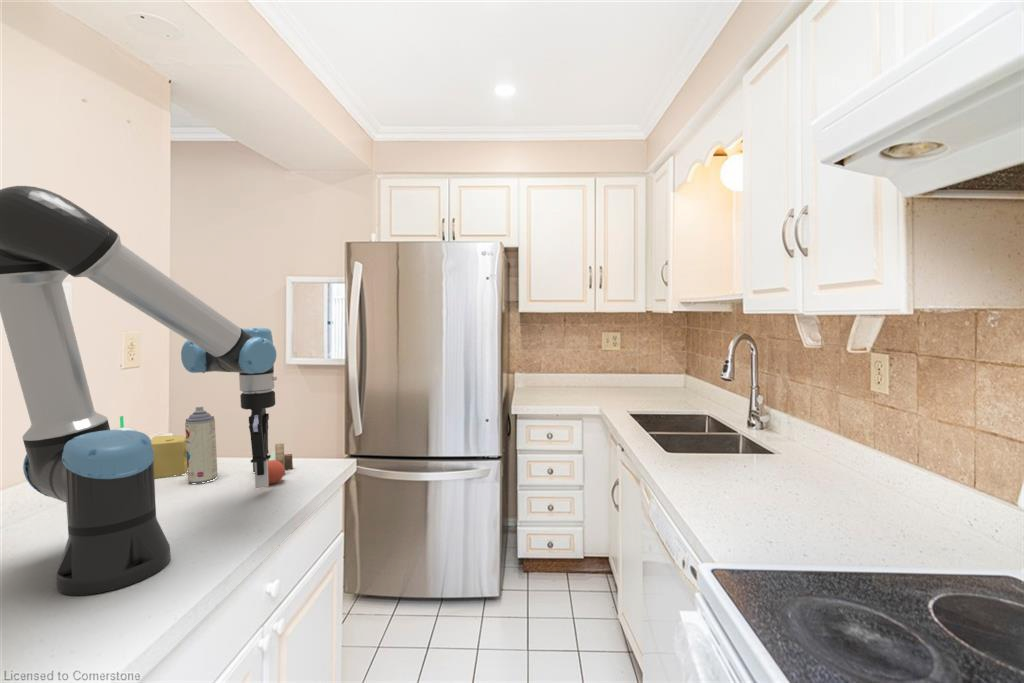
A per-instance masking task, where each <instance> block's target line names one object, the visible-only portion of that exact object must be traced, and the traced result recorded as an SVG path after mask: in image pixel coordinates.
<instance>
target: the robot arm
mask: <svg viewBox="0 0 1024 683" xmlns="http://www.w3.org/2000/svg"><path fill="white" fill-rule="evenodd" d="M68 276H71V277H73V278H87V279H88V280H90V281H92V282H94V283H95V284H97V285H98V286H100V287H102V288H103V289H105V290H106V291H107V292H110V293H111V294H113V295H115V296H116V297H118V299H121V300H123V301H124V302H126V303H127V304H129V305H131V306H132V307H134V308H135V309H137V310H138V311H140V312H141V313H144V314H145V315H147V316H148V317H149V318H151V319H154V320H155V321H156V322H158V323H159V324H161V325H163V326H164V327H166V328H168V329H169V330H171V331H172V332H174V333H176V334H178V336H181V337H182V338H184V339H185V340H186V341H185V342H184V343H183V345H182V347H181V351H180V359H181V364H182V366H183V368H185V370H186V371H187V372H189V373H192V374H193V373H194V374H195V373H196V374H197V373H200V374H201V373H202V374H205V373H208V372H209V373H210V372H211V373H212V372H218V373H219V372H222V373H238V374H239V375H238V377H239V378H238V380H239V382H238V383H239V391H240V392H242V393H241V394H240V395H239V396H240V408H241V409H243V410H251V412H250V413H251V414H250V416H248V424H249V425H248V428H249V435H250V443H251V444H250V445H251V453H252V455H251V456H252V459H250V463H252V464H253V462H254V466H255V474H254V484H255V485H254V486H255V489H263V488H268V487H269V485H270V484H269V481H268V460H267V458H271V455H269V454H270V451H269V419H270V414H269V412H268V413H267V409H268V408H272V407H274V406H275V405H276V392H275V391H274V388H275V381H277V380H278V377H277V376H274V375H275V373H274V371H275V369H274V368H275V363H276V360H277V349H276V346H275V345H274V341H273V334H272V331H271V329H270V328H267V327H249V328H248V327H247V328H246V327H245V328H241V327H239V326H238V325H237V324H235V323H234V322H232V321H230V320H229V319H228V318H227V317H225V316H223V314H221V313H219V312H218V311H217V310H215V309H214V308H212V307H211V306H209V305H208V304H207V303H205V302H204V301H203V300H201V299H200V298H198V297H197V296H195V295H194V294H193V293H191V292H190V291H188V290H187V289H186V288H184V287H183V286H181V285H180V284H179V283H177V282H176V281H175V280H173V279H171V277H168V275H166V274H165V273H163V272H162V271H160V270H159V269H158V268H156V267H154V265H152V264H150V263H149V262H148V261H146V260H145V259H143V258H142V257H141V256H139V255H138V254H137V253H135V252H134V251H132V250H130V249H129V248H128V247H126V246H125V245H123V244H122V242H121V237H120V234H119V233H117V232H116V231H115V230H113V229H112V228H111V227H110V226H107V225H106V224H105V223H104V222H102V221H101V220H99V219H98V218H97V217H95V216H93V214H91V213H90V212H88V211H86V209H83V208H82V207H80V206H79V205H77V204H76V203H74V202H73V201H71V200H69V199H67V198H66V197H64V196H62V195H61V194H57V193H56V192H53V191H50V190H48V189H45V188H42V187H36V186H31V185H29V186H28V185H15V186H14V185H13V186H8V187H3V188H1V189H0V317H1V320H2V324H3V328H4V332H5V334H6V338H7V341H8V346H9V349H10V353H11V356H12V359H13V363H14V367H15V370H16V373H17V374H16V375H17V377H18V382H19V385H20V389H21V391H22V395H23V400H24V403H25V405H26V410H27V413H28V417H29V421H30V424H31V425H30V427H29V428H28V429H27V430H26V431H25V433H24V434H23V435H22V441H23V445H24V448H25V452H26V454H25V457H24V460H23V465H22V470H23V475H24V478H25V479H26V481H27V482H28V484H29V485H30V486H31V487H32V488H33V489H34V490H36V492H38V493H40V494H41V495H43V496H45V497H49V498H53V499H56V500H59V501H62V502H63V503H65V504H66V516H67V517H66V518H67V530H68V531H67V535H68V537H67V541H66V543H65V548H64V550H63V553H62V557H61V559H60V562H59V565H58V567H57V571H56V576H55V578H56V580H55V581H56V589H57V591H58V592H59V593H61V594H63V595H69V596H85V595H95V594H99V593H105V592H109V591H114V590H117V589H120V588H123V587H127V586H130V585H132V584H136V583H138V582H140V581H143V580H145V579H147V578H149V577H151V576H153V575H155V574H157V573H158V572H160V571H161V570H163V569H164V568H165V567H167V565H168V564H169V563H170V561H171V546H170V542H169V541H168V539H167V537H166V535H165V533H164V531H163V529H162V526H161V525H160V523H159V521H158V519H157V518H158V517H157V507H156V506H157V505H156V485H155V484H156V483H155V482H156V481H155V479H154V451H153V449H152V443H151V438H150V437H149V436H148V435H147V434H146V433H144V432H143V431H142V432H141V431H139V430H136V431H133V430H125V431H122V430H114V429H111V427H110V424H109V423H110V422H109V419H108V417H107V416H106V415H103V414H101V413H99V412H96V410H95V408H94V403H93V399H92V396H91V392H90V388H89V384H88V383H89V382H88V380H87V375H86V373H85V372H86V371H85V369H84V365H83V360H82V356H81V353H80V349H79V344H78V341H77V337H76V332H75V330H74V326H73V321H72V318H71V313H70V308H69V306H68V302H67V298H66V294H65V291H64V286H63V282H64V280H65V279H66V278H67V277H68Z"/></svg>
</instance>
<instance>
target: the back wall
mask: <svg viewBox="0 0 1024 683" xmlns="http://www.w3.org/2000/svg"><path fill="white" fill-rule="evenodd" d="M268 459H269V458H267V460H268ZM284 459H285V471H288V470H287V469H291V470H293V467H294V466H293V464H294V463H293V453H286V454H284ZM253 472H255V466H254V462H253V463H252V473H253Z"/></svg>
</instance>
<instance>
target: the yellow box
mask: <svg viewBox="0 0 1024 683" xmlns="http://www.w3.org/2000/svg"><path fill="white" fill-rule="evenodd" d="M150 440H151V443H152V449H153V451H154V478H155V479H159V478H158V477H164V478H168V477H167V476H173V477H175V476H174V475H182V474H185V473H186V472H187V471H188V469H187V450H186V436H184V435H158V436H154V437H151V438H150ZM187 473H188V472H187ZM187 473H186V474H187ZM186 474H185V475H186Z"/></svg>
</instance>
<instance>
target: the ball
mask: <svg viewBox="0 0 1024 683" xmlns="http://www.w3.org/2000/svg"><path fill="white" fill-rule="evenodd" d="M284 476H285V475H284V466H283V465H282V463H280V462H279V461H276V460H270V461H268V481H269V485H273V484H277V483H279V481H281V480H282V479H283V477H284Z"/></svg>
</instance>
